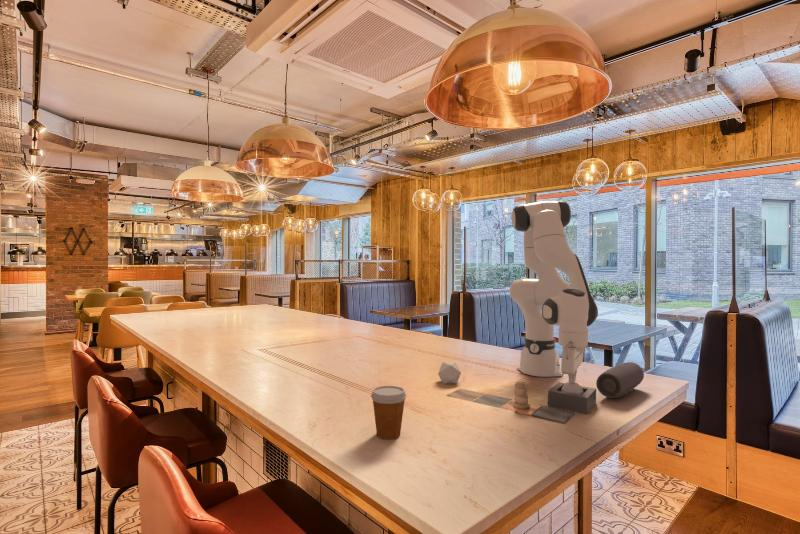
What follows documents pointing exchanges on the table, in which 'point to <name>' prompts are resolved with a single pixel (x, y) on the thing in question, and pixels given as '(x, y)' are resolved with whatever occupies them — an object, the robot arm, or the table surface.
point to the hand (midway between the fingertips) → (572, 381)
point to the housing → (572, 399)
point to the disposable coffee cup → (388, 410)
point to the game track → (498, 401)
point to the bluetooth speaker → (619, 379)
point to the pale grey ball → (572, 388)
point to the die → (449, 373)
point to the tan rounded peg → (521, 395)
